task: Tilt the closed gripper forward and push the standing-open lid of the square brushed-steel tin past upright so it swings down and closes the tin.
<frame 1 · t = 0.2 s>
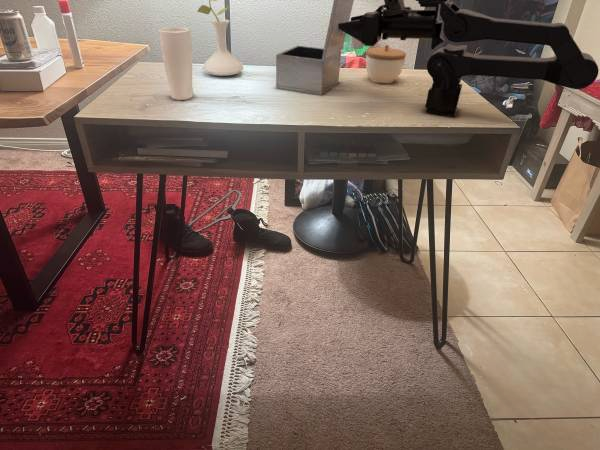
hand: (344, 22, 99), 17 cm above the table, tool horizontal, fingers open, 9 cm apart
tin: (308, 85, 115), on the table
drinking glass: (182, 98, 102), on the table
lid: (339, 24, 104), point 15 cm above the table, hinge at 99.0°
trinket box: (382, 81, 121), on the table
flower in vase: (221, 74, 122), on the table
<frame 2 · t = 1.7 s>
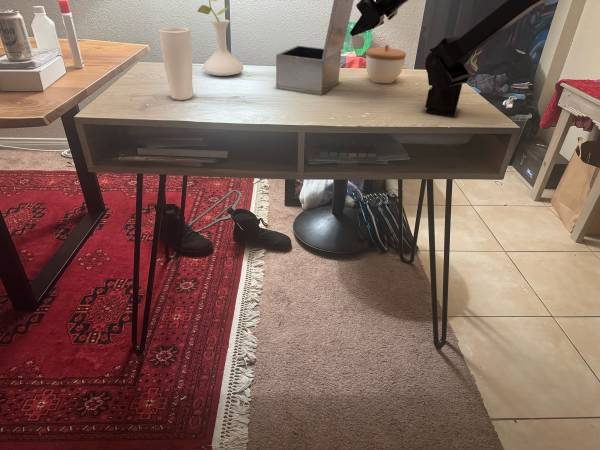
hand: (351, 34, 104), 14 cm above the table, tool tilted 45°, fingers closed
nothing on the table moved.
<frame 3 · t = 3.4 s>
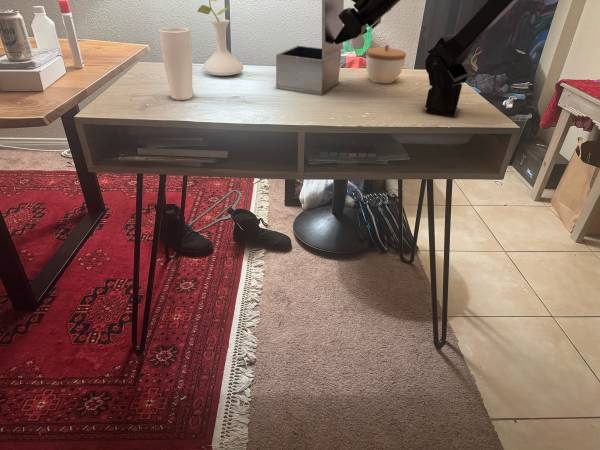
hand: (335, 42, 107), 11 cm above the table, tool tilted 45°, fingers closed, pressing on lid
lid: (333, 23, 104), point 16 cm above the table, hinge at 86.0°, touching gripper
everything else where it was.
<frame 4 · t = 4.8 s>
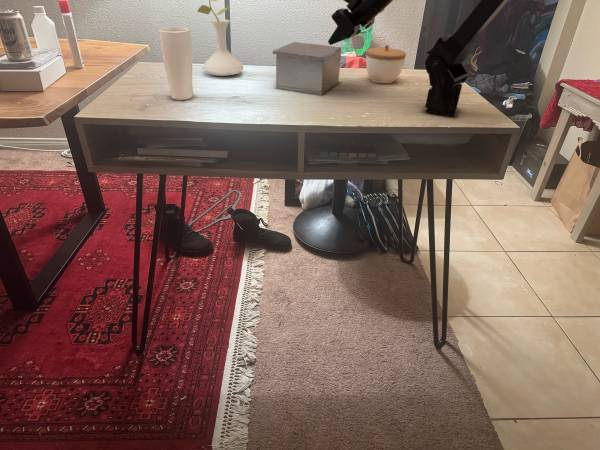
hand: (329, 43, 107), 11 cm above the table, tool tilted 45°, fingers closed
lid: (307, 50, 110), point 9 cm above the table, hinge at -0.2°
everything else where it was.
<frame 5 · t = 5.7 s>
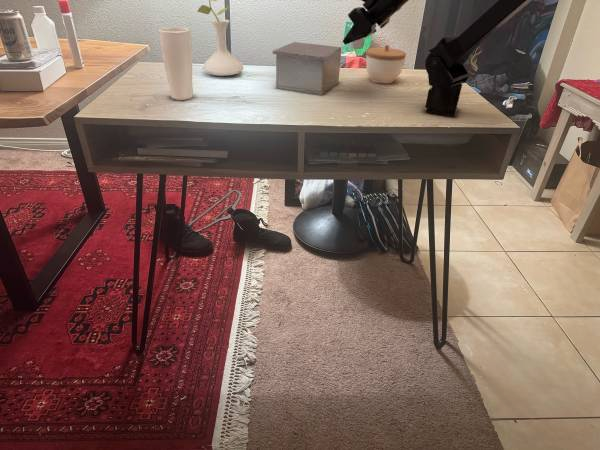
hand: (344, 42, 106), 12 cm above the table, tool tilted 45°, fingers closed
nothing on the table moved.
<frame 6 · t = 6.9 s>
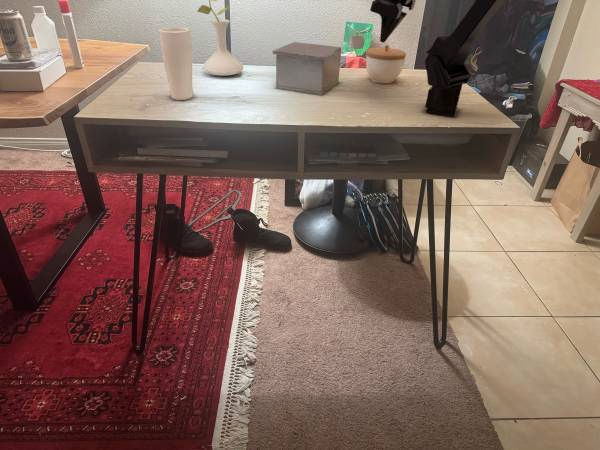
hand: (382, 41, 104), 12 cm above the table, tool pointing down, fingers closed
nothing on the table moved.
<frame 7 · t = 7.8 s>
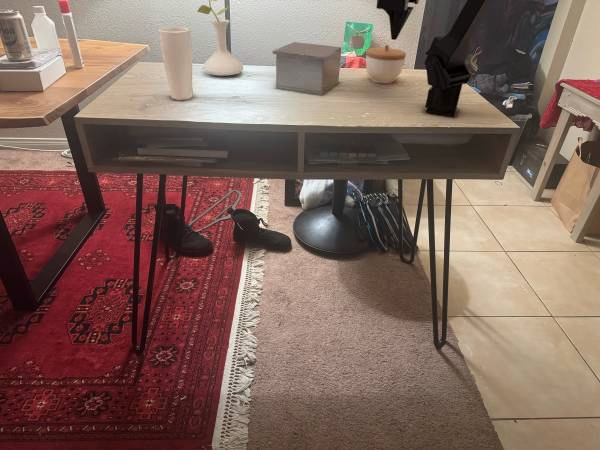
hand: (393, 39, 104), 13 cm above the table, tool pointing down, fingers closed
nothing on the table moved.
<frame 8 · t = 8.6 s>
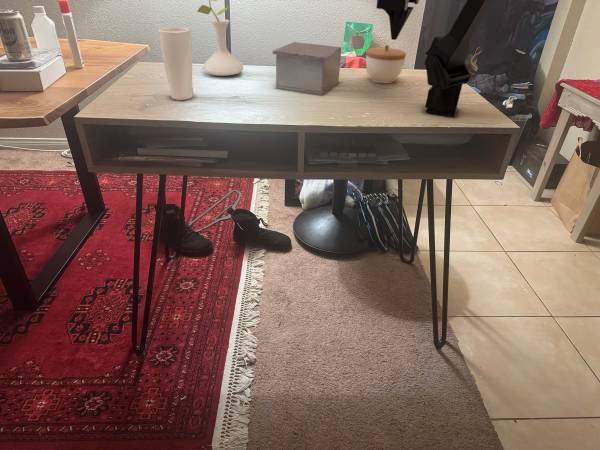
hand: (393, 39, 104), 13 cm above the table, tool pointing down, fingers closed
nothing on the table moved.
at the end: lid at +0° (first picture: +99°); trinket box moved 0.2 cm from its start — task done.
